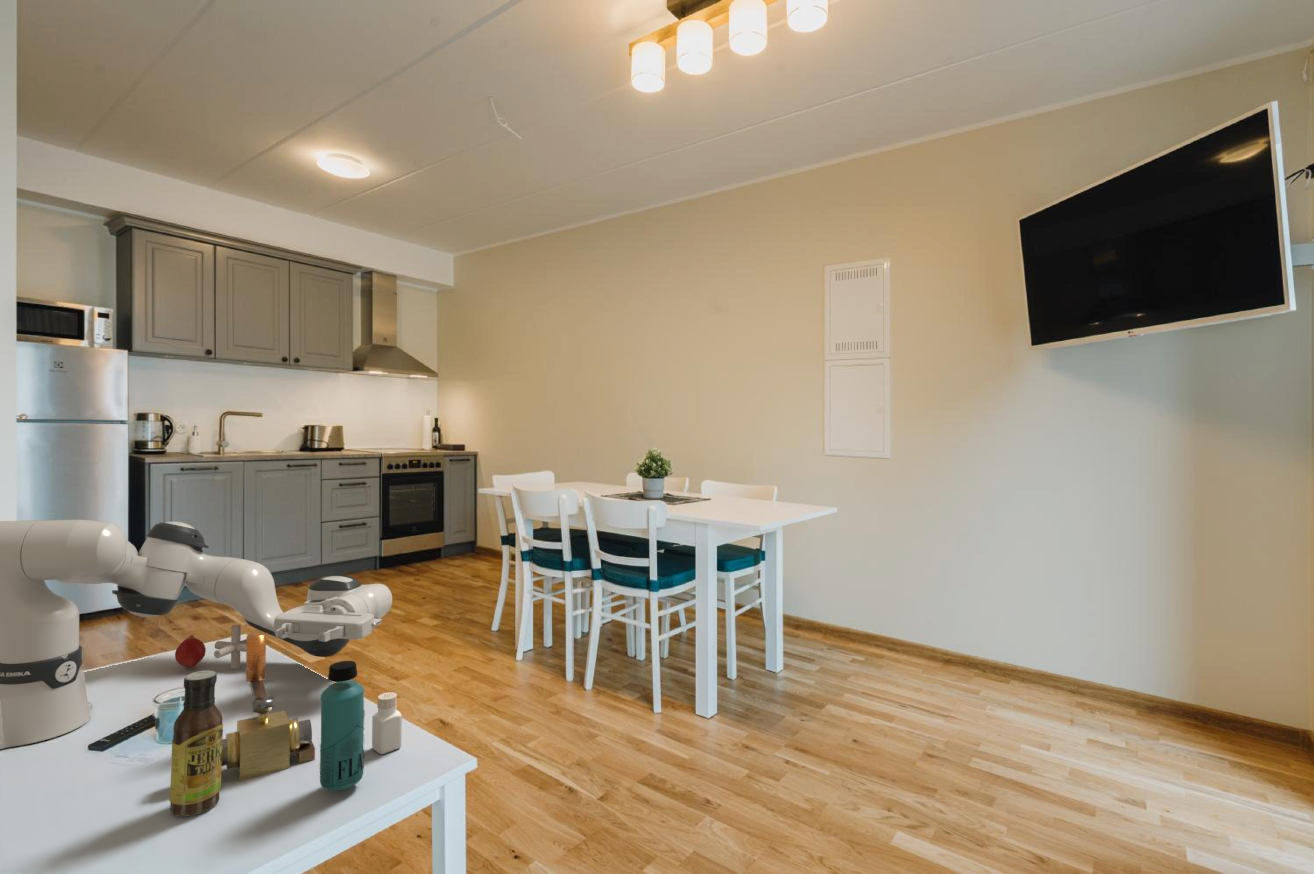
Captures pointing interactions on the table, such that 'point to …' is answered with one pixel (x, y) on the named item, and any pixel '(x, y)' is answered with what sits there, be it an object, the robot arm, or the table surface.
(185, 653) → the onion
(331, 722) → the beverage bottle
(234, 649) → the pipe connector
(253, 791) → the table surface
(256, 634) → the crank handle
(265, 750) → the ball valve
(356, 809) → the table surface
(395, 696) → the pepper shaker
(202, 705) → the sauce bottle
